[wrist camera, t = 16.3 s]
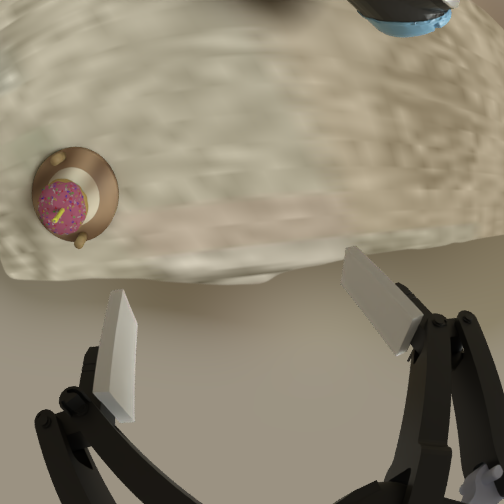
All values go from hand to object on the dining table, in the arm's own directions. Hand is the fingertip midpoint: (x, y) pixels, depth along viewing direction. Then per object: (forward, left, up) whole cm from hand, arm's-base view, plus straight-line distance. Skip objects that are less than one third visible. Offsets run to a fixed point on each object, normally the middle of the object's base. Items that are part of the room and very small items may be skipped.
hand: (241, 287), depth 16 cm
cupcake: (-10, -19, -30) cm, 37 cm away
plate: (-10, -19, -32) cm, 38 cm away
